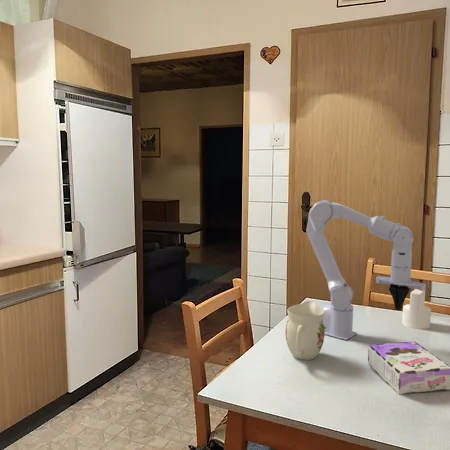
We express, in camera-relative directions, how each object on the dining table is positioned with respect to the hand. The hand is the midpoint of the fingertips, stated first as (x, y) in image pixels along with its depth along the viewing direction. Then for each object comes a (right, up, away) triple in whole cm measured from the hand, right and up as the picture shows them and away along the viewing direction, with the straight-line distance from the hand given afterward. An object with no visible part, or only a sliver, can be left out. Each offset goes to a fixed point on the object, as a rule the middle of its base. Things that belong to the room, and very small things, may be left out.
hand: (398, 309), depth 141 cm
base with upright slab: (+13, -9, +18) cm, 24 cm away
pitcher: (-31, -12, -11) cm, 35 cm away
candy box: (-8, -9, -16) cm, 20 cm away
